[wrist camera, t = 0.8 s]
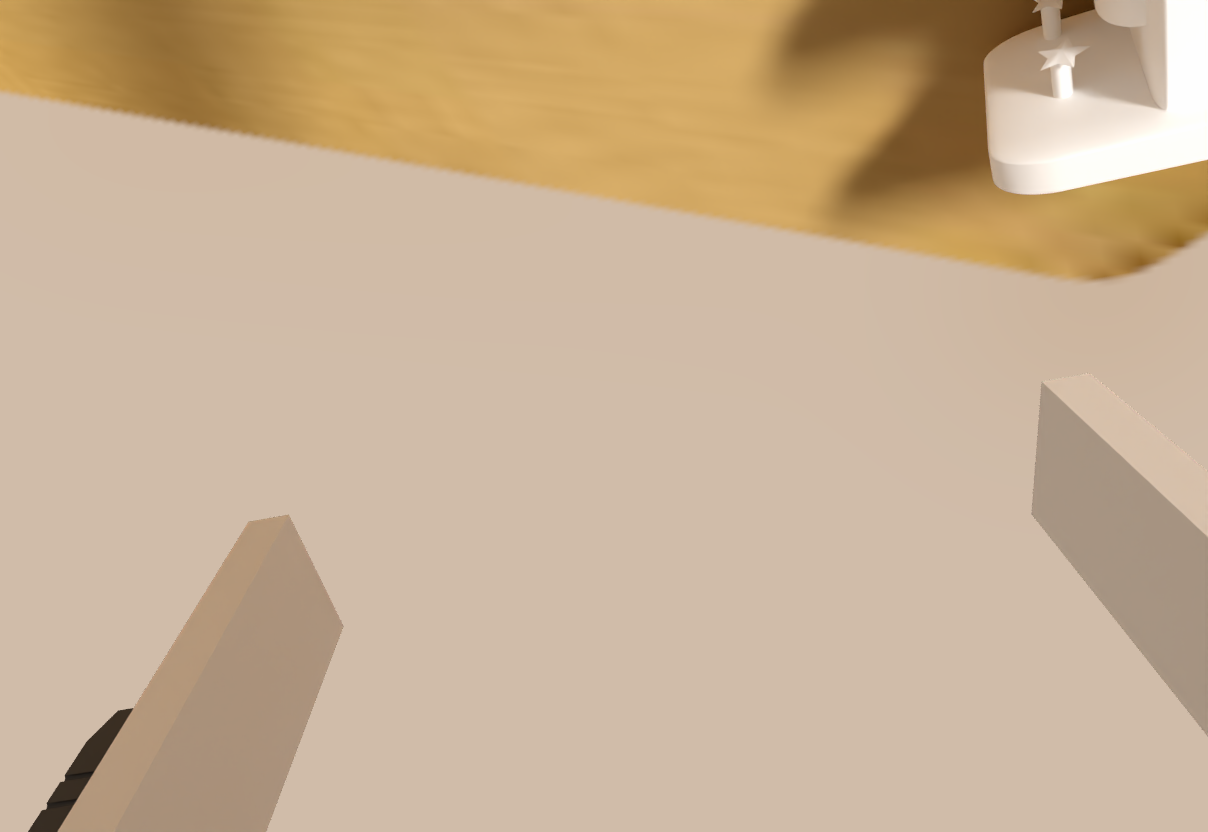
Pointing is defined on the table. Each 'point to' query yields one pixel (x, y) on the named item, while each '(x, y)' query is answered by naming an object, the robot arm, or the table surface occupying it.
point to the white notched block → (1098, 95)
